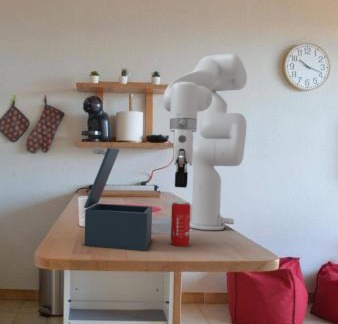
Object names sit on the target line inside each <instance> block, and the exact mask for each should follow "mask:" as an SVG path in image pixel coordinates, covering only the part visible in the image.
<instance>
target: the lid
mask: <svg viewBox="0 0 338 324" xmlns="http://www.w3.org/2000/svg"><path fill="white" fill-rule="evenodd" d="M120 151H121V150H120V148H116V147H115V148H114V147H107V149H106V151H104V148H102V147H101V146H100V147H99V146H94V147H93V149H92V153H93V154H95V155H102V156H103V159H102V161H101V164H100V166H99V168H98V171H97V173H96V177H95V179H94V181H93V184H92V186H91V188H90V191H89V194H88V195H87V196H88V199H87V201H86V204H85V206H84V208H89V207H90V206H92V205H94V204H96V203H98V202H99V200H100V201H101V198H102V195H103V193H104V190H105V187H106V185H107V183H108V179H109V177H110V174H111V172H112V170H113V167H114V165H115V162H116V159H117V157H118V155H119V152H120Z"/></svg>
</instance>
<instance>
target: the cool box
mask: <svg viewBox="0 0 338 324" xmlns="http://www.w3.org/2000/svg"><path fill="white" fill-rule="evenodd" d="M152 222H153V206H146V205H129V204H114V203H113V204H111V203H100V204H96V205H94V206H92V207H90V208H88V209H86V210H85V227H84V243H83V245H84V246H86V247H96V248H97V247H98V248H107V249H121V250H131V251H132V250H133V251H142V252H143V251H144V252H145V251H147V250H148V248H149V246H150V243H151V241H152V231H153V230H152V227H153V226H152V225H153V224H152Z"/></svg>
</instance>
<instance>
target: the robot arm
mask: <svg viewBox="0 0 338 324" xmlns="http://www.w3.org/2000/svg"><path fill="white" fill-rule="evenodd" d="M247 76H248V74H247V71H246V68H245V66H244V63H243V61H242V59H241V58H240V56H238V55H237V54H236V53H231V52H230V53H221V54H220V53H219V54H212V55H206V56H204V57H202V58H201V59H200V60H199V61H198V63H197V64H196V65H195V67H194V69H193V70H192V71H190V72H187V73H185V74H183V75H181V76H179V77H177V78H175V79H173V80H172V81H171V82H170V83H169V84H168V86H167V87H166V89H165V90H164V93H163V96H162V105H163V107H164V109H165V110H166V111H167V112H169V132H173V164H174V165H175V172H174V188H182V189H185V188H187V187H188V178H189V177H188V175H189V173H188V164H189V167H191V166H192V205H191V207H192V209H191V220H190V229H194V230H202V231H222V230H224V229H225V225H234V224H235V219H234V218H230V217H224V216H223V217H222V214H221V196H222V194H221V193H222V178H221V175H220V174H219V171H217V169H216V168H215V167H237V166H240V165H241V164H242V162H243V160H244V155H245V145H246V136H247V120H246V117H245V115H243V114H242V113H239V112H228V103H227V101H226V100H225V99H224V98H223V97H222V96H221V95H220V94H219V93H217V92H227V91H228V92H229V91H240V90H243V89H244V88H245V86H246V85H247V82H248V77H247ZM198 112H202V114H201V119H200V124H199V134H200V136H201V137H202V138H200V139H197V140H195V141H194V133H196V132H198Z"/></svg>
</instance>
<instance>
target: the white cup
mask: <svg viewBox="0 0 338 324" xmlns="http://www.w3.org/2000/svg"><path fill="white" fill-rule="evenodd" d="M88 196H89V195H82V196H78V197H77V205H78V207H77V208H78V209H77V210H78V226H80V227H83V228H85V210H86V209H88V208H84V206H85V204H86V201H87V199H88ZM96 204H101V199H100V200H99V202H98V203H96ZM96 204H94V205H96ZM94 205H92V206H94ZM92 206H90V207H92ZM90 207H89V208H90Z"/></svg>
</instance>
